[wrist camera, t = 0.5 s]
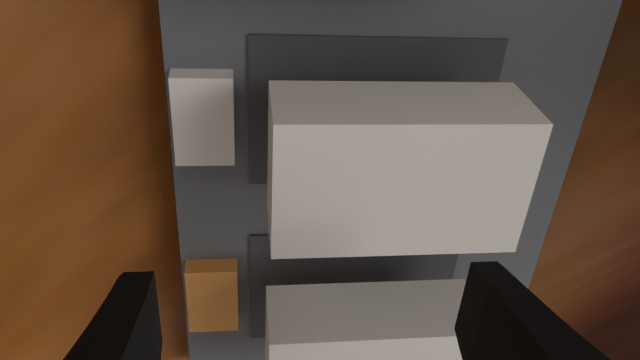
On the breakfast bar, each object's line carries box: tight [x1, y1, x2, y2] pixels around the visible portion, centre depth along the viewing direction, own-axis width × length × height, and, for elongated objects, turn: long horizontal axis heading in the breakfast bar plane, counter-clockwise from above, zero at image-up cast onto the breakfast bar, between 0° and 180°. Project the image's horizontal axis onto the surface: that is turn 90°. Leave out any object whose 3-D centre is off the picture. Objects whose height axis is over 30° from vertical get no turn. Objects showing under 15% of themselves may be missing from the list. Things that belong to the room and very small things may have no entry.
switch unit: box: [158, 0, 623, 360], centre depth 21 cm, size 15×26×2 cm, turn 177°
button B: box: [267, 80, 553, 259], centre depth 18 cm, size 8×4×3 cm, turn 87°
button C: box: [265, 279, 466, 360], centre depth 22 cm, size 8×4×3 cm, turn 87°
